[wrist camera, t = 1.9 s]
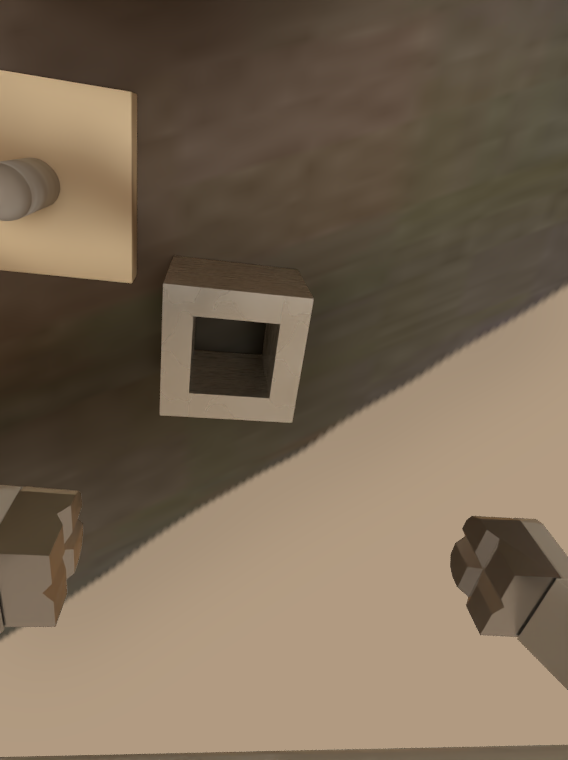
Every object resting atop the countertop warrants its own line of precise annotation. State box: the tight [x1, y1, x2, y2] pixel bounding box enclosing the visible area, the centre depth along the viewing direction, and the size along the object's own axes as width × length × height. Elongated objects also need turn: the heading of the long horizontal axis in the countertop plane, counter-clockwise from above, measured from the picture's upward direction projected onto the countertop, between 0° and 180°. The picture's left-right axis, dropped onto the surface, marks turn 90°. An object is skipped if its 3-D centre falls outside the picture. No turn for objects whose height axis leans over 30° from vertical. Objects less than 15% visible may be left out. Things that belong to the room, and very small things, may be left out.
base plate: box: [0, 70, 137, 283], centre depth 19 cm, size 8×8×6 cm
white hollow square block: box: [160, 256, 314, 423], centre depth 24 cm, size 6×6×5 cm
